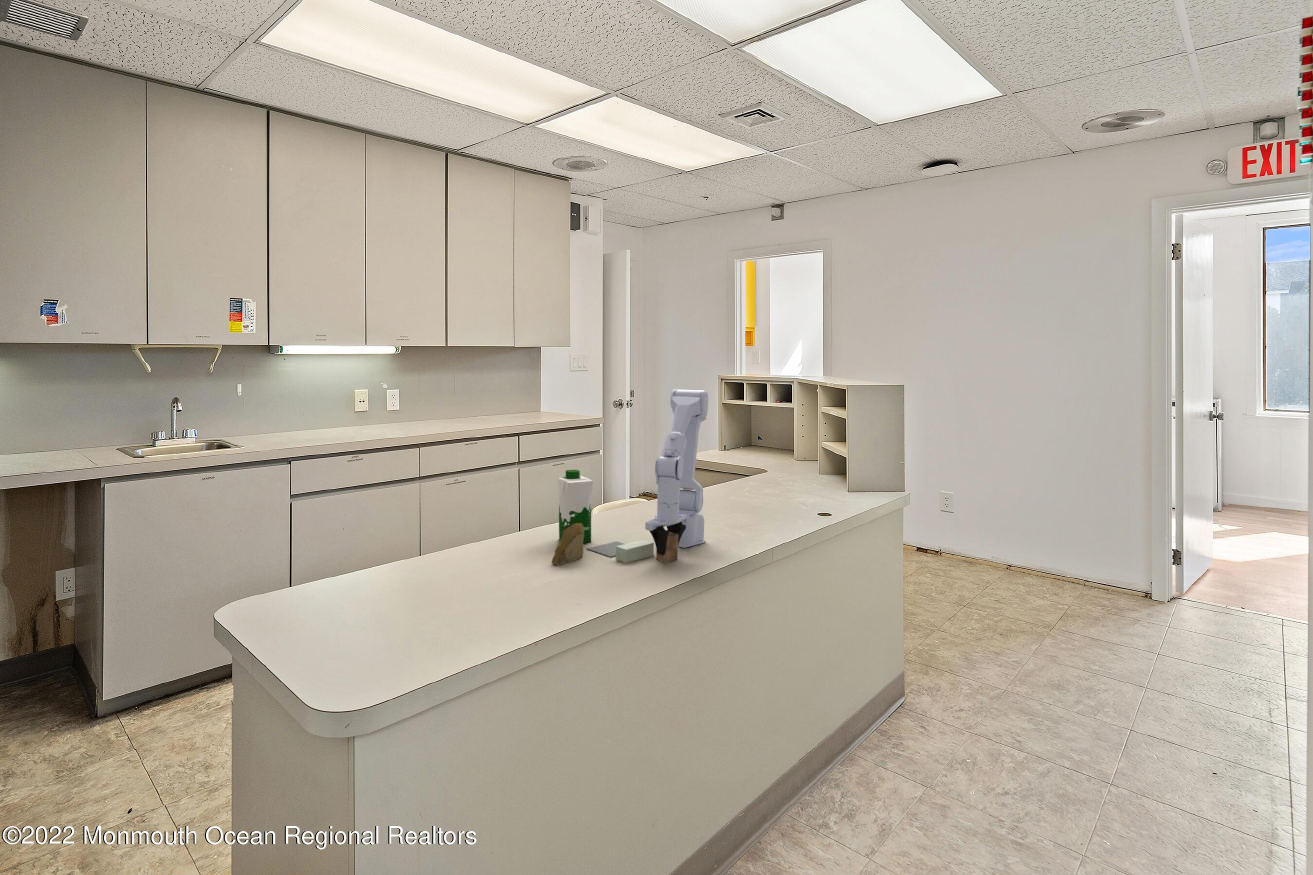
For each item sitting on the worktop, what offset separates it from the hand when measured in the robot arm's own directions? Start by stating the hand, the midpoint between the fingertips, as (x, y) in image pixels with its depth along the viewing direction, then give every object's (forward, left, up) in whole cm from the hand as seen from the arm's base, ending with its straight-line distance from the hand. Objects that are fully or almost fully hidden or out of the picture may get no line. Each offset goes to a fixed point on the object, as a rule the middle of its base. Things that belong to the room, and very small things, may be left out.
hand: (667, 552), depth 181 cm
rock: (+20, -17, -2) cm, 26 cm away
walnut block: (0, 0, -2) cm, 2 cm away
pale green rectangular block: (+5, -7, -2) cm, 9 cm away
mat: (+5, -16, -2) cm, 17 cm away
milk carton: (+7, -30, -2) cm, 31 cm away
